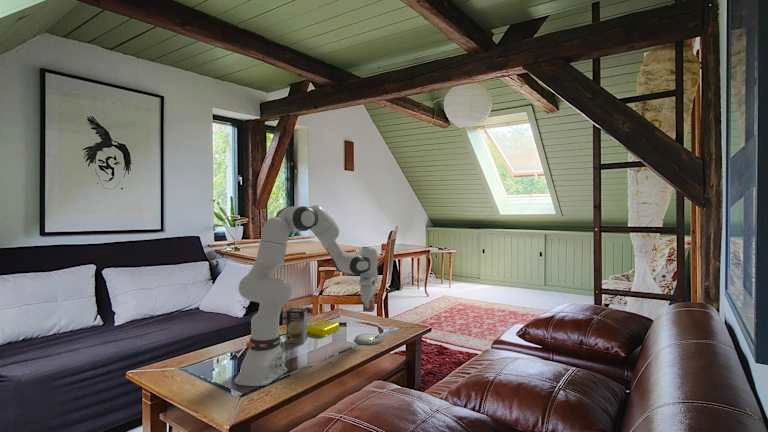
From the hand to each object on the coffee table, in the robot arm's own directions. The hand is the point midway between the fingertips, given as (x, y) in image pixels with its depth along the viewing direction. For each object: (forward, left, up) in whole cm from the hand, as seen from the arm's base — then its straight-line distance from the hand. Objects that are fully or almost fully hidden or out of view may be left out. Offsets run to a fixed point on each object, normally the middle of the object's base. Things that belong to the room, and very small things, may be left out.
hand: (368, 306), depth 211 cm
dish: (0, 0, -17) cm, 17 cm away
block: (0, 0, -2) cm, 2 cm away
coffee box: (-8, +35, -18) cm, 40 cm away
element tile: (+10, +28, -18) cm, 35 cm away
